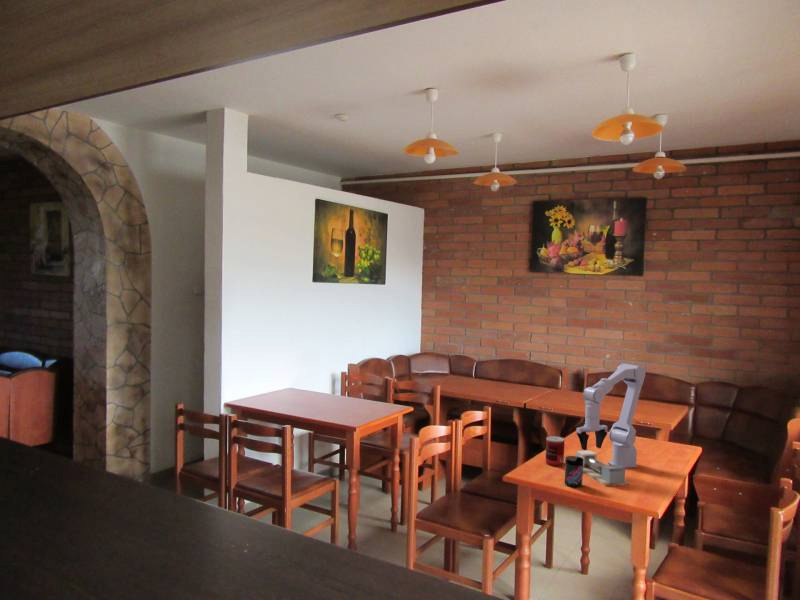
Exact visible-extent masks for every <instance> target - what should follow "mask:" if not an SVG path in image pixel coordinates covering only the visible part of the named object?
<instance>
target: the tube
mask: <svg viewBox="0 0 800 600" xmlns="http://www.w3.org/2000/svg"><path fill="white" fill-rule="evenodd" d="M584 464H585V465H587V466H589V467H591V468H592V469H594V470H596V471H597V472H599V473H601V474H602V465H606V464H605V463H603V462H602V461H599V460H598V459H597V460H596V459H594V458H592V457H590V456H585V461H584Z"/></svg>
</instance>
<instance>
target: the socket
mask: <svg viewBox="0 0 800 600" xmlns="http://www.w3.org/2000/svg"><path fill="white" fill-rule="evenodd" d="M625 478H626V468H623V467H621V466H619V465H617V464H616V465H612V464H605V465H602V479H603V480H605V481H606V482H608V483H621V482H625V481H626V479H625Z"/></svg>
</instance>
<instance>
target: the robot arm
mask: <svg viewBox="0 0 800 600" xmlns="http://www.w3.org/2000/svg"><path fill="white" fill-rule="evenodd" d="M645 377H646V371H645V368H644V367H643V365H636V364H629V363H624V362H622V363H620V364H619V365H618V366H617V368H616V370H615V371H614V372H613V373H612V374H611V375H610V376H609V377H608V378H606V377H605V378H603V377H602V378H600V380H599V381H597V383H595V384H594V385H592V386H588V387H586V388H584V390H583V393H582V397H583V400H584V404H585V411H584V412H585V414H584V415H585V416H584V417H585V418H584V420H585V421H584V424H583V425H582V426H579V427H576V435H577V437H578V439H579V442H580V443H579V444H580V447H581V450H582V451H587V449H588V440H589V437H590V435H589V434H588V433H592V432H594V434H595V446H596V448H597V449H602V445H603V443H604V440H605V439H606V437H607V435H608V437H609V440H610V442H611V444H612V459H611V460H612V461H611V460H610V461H607V463H608V464H609V465H616V464H617V465H619V466H621V467H623V468H625V469H628V468H629V469H630V468H638V465H637V456H638V455H637V453H638V452H637V447H636V446H635V445H634V444H635V443H636V434H637V430H636V429H635V427H634V426H633V421H634V416H635V412H636V409H637V406H638V402H639V399H640V394H641V393H640V392H641V390H642V386H643V384H644V381H645ZM621 381H623V382H624V383H625V384H626V385H627V389H626V391H625V396H624V400H623V405H622V408H621V411H620V416H619V417H618V421H616V422H614V423H613V424H612V427H611V429H610V430H609V432H608V425H605V424H600V419H601V418H600V417H601V416H600V415H601V403H602V402H603V401H604V398H605V396H606V395H607V394H608V393H610V392H611V391H612V390H613V389H614V385H615V384H618V383H619V382H621Z"/></svg>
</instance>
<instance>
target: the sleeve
mask: <svg viewBox="0 0 800 600" xmlns="http://www.w3.org/2000/svg"><path fill="white" fill-rule="evenodd" d="M575 456H577V457H581V458H583V467H584V461H585V456H590V457H592V458H594V459H596V460H598V454H597V453H596V452H594V451H592V450H587V449H586V450H576V451H575Z"/></svg>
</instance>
